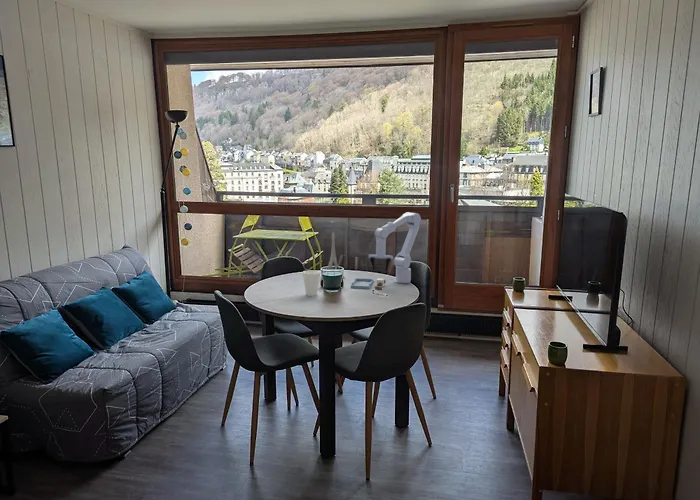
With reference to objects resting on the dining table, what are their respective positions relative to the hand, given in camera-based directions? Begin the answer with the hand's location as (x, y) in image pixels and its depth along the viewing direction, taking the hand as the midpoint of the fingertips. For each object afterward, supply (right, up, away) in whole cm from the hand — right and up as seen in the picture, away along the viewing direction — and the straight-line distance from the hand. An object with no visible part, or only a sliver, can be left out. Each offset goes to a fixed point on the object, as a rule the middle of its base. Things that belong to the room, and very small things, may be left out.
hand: (380, 270), depth 303 cm
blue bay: (-11, -9, +4) cm, 14 cm away
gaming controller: (-29, -10, -3) cm, 31 cm away
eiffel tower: (-29, -6, +24) cm, 38 cm away
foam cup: (-40, -13, -19) cm, 47 cm away
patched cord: (0, -10, +2) cm, 10 cm away
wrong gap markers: (0, -9, +2) cm, 10 cm away
